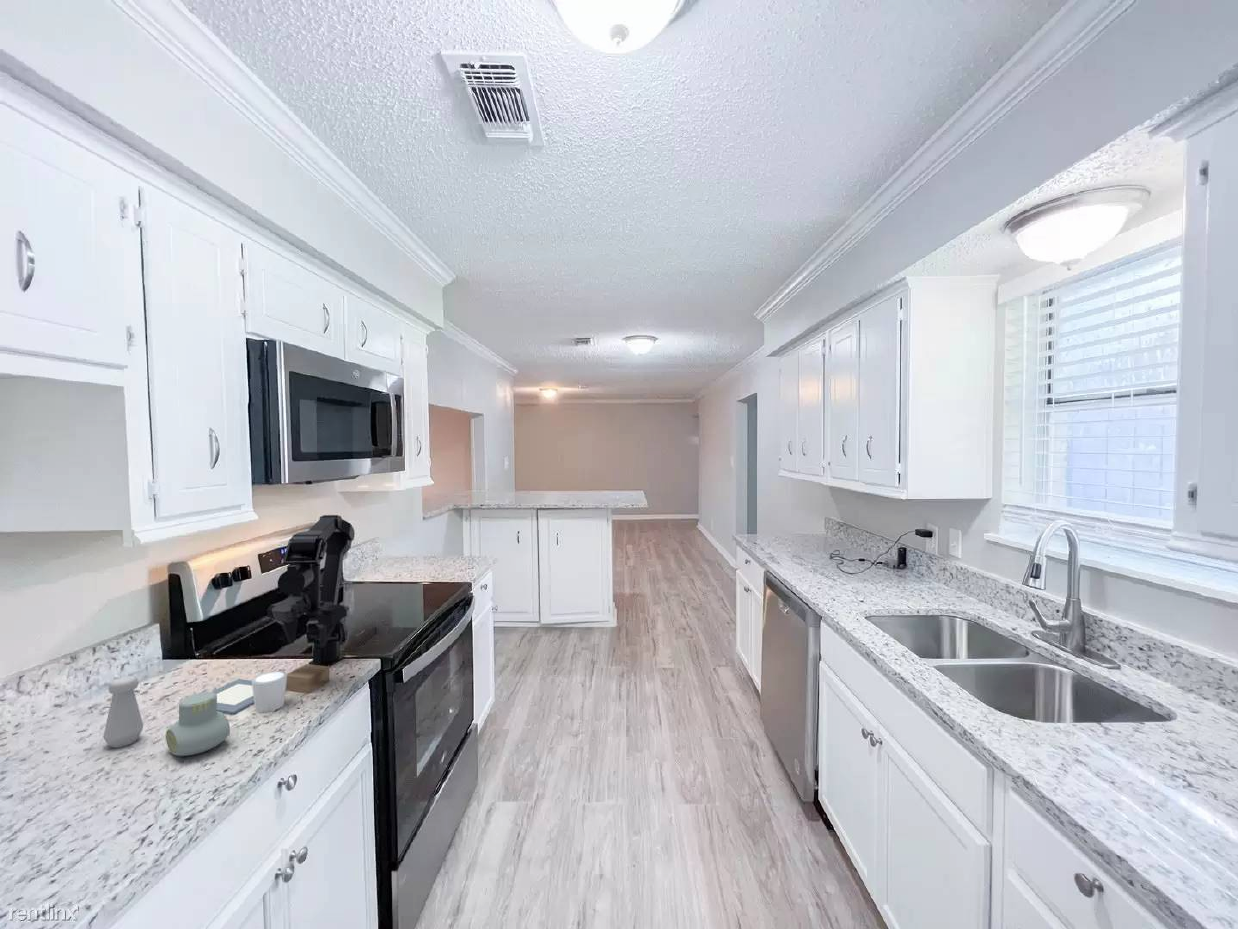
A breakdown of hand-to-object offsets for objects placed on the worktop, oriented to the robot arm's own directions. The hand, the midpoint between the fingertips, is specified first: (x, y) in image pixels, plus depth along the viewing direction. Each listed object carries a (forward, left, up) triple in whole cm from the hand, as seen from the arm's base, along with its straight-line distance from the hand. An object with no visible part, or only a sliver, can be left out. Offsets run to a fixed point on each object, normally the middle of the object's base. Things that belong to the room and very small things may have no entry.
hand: (307, 645), depth 131 cm
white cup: (+11, 0, -11) cm, 15 cm away
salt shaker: (+30, -15, -11) cm, 35 cm away
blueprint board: (+9, -11, -10) cm, 18 cm away
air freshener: (+28, +1, -11) cm, 30 cm away
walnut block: (0, 0, -11) cm, 11 cm away
